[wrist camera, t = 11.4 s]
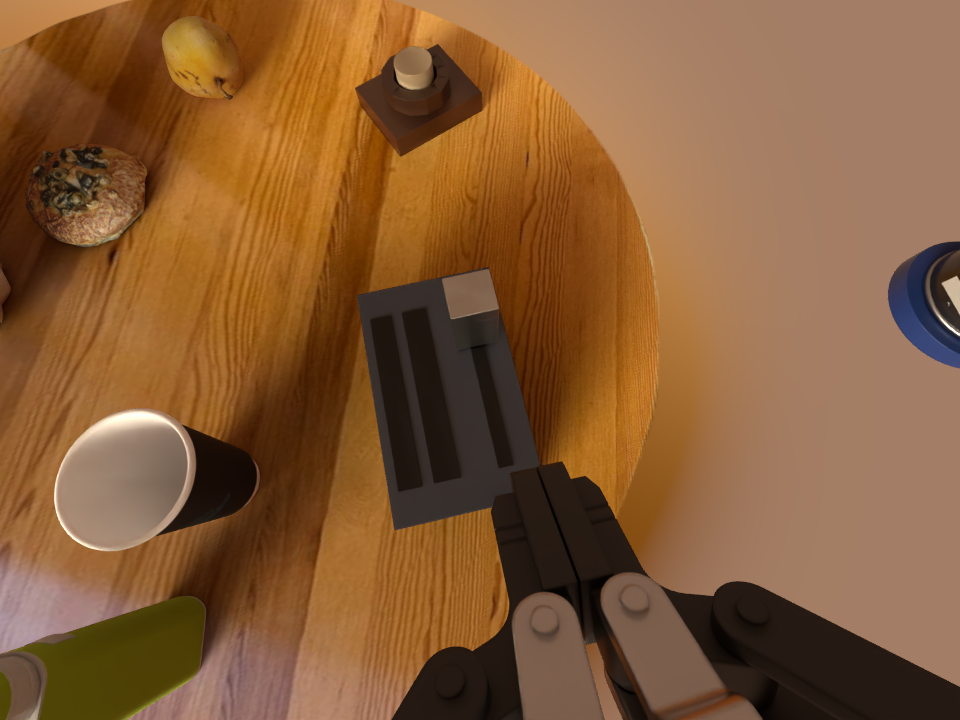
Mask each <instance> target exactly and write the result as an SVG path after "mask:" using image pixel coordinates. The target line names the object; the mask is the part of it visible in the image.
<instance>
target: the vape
mask: <svg viewBox="0 0 960 720" xmlns="http://www.w3.org/2000/svg"><path fill="white" fill-rule="evenodd" d="M205 622H206V607H205V605H204V604H203V602H202V601H201V600H199V599H197V598H195V597H192V596H179V597H176V598H172V599H169V600H166V601H163V602H160V603H157V604H154V605H151V606H148V607H145V608H141V609H138V610H135V611H132V612H129V613H126V614H123V615H120V616H117V617H114V618H110V619H107V620H104V621H101V622H98V623H95V624H92V625H89V626H86V627H83V628H79V629H76V630H73V631H70V632H67V633H64V634H53V635H49V636H46V637H44V638H41V639H39V640H37V641H35V642H33V643H30V644H27V645H25V646H24V647H21V648H17V649H14V650H11V651H8V652H5V653H2V654H0V720H127V719H128V718H130V717H132V716H133V715H135V714H136V713H138V712H140V711H141V710H143V709H145V708H146V707H148V706H149V705H151V704H153V703H154V702H156V701H158V700H159V699H161V698H162V697H164V696H166V695H167V694H169V693H171V692H172V691H174V690H175V689H177V688H179V687H180V686H182V685H184V684H185V683H187V682H188V681H190V680H191V679H193V678H194V677H195V676H196V674H197V673H198V671H199V669H200V667H201V660H202V650H203V641H204V631H205Z"/></svg>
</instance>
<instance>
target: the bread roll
mask: <svg viewBox="0 0 960 720" xmlns="http://www.w3.org/2000/svg"><path fill="white" fill-rule="evenodd" d="M146 176H147V168H146V166H145V165H144V164H143V163H142V162H141V161H140V160H139V157H137V156H135V155H131V154H126V153H124V152H122V151H121V150H119V149H115V148H112V147H110V146H108V145H96V144H92V143H88V144H76V145H73V146H65V147H62V148H60V150H56V151H55V152H53V153H51V152H49V151H44V152H42V157H41V158H40V160H39V161H37V162H36V164H35V167H34V168H33V170H32V171H31V174H30V178H29V186H28V188H27V192H26V194H25V195H26V208H27V210H28V212H29V214H30V217H31V218H32V220H33V221H34V222H35V223H36V224H37V225H38V226H39V227H40V228H41V229H42V230H43V231H44V232H46V233H47V234H49V235H50V236H52V237H53V238H55V239H57V240H59V241H62V242H65V243H69V244H74V245H76V246H81V247H89V246H94V245H95V246H98V245H99V244H103V243H104V242H107V241H111V240H114V239H117V238H118V237H119V236H120V234H121V233H123V231H124V230H125V229H126V228H127V227H128V226H129V225H131V224H132V223H133V221H134V220H135V219H137V217H138V216H140V215H141V214H142V213H143V212H144V208H143V207H144V206H145V202H144V201H145V178H146Z"/></svg>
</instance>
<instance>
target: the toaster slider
mask: <svg viewBox="0 0 960 720" xmlns="http://www.w3.org/2000/svg"><path fill="white" fill-rule="evenodd" d="M442 283H443V288H444V293H445V297H446V302H447V306H448V311H449V315H450V320H451V324H452V329H453V333H454V338H455V342H456V347H457V350H461V349H465V348H470V347H474V346H479V345H484V344H488V343H493V342H497V340H498V322H499V305H498V301H497V297H496V294H495V290H494V286H493V282H492V278H491V274H490V271H489V269H486V270H481V271H476V272H472V273H467V274H462V275H458V276H453V277H448V278H444V279H442Z"/></svg>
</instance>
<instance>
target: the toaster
mask: <svg viewBox="0 0 960 720" xmlns="http://www.w3.org/2000/svg"><path fill="white" fill-rule="evenodd" d="M486 269H489V267H486V268H482V269H477V270H472V271H468V272H463V273H458V274H454V275H449V276H444V277H440V278H435V279H430V280H426V281H421V282H416V283H411V284H407V285H402V286H397V287H393V288H388V289H383V290H379V291H374V292H369V293H365V294H360V295H357V298H358V305H359V311H360V317H361V324H362V330H363V336H364V342H365V349H366V355H367V361H368V367H369V374H370V380H371V386H372V392H373V399H374V405H375V411H376V417H377V424H378V430H379V436H380V443H381V449H382V455H383V461H384V468H385V474H386V480H387V486H388V493H389V499H390V505H391V511H392V518H393V524H394V530H399V529H403V528H407V527H411V526H415V525H420V524H424V523H428V522H432V521H436V520H440V519H445V518H449V517H453V516H457V515H461V514H466V513H470V512H474V511H478V510H482V509H486V508H491V507H493V503H494V499H495V496H498V495H502V494H507V493H511V492H512V487H511V481H510V474H509V473H511V472H516V471H520V470H525V469H530V468H534V467H535V469H536V467H538V466H541V465H540V461H539V457H538V453H537V449H536V445H535V442H534V438H533V434H532V430H531V426H530V422H529V419H528V415H527V411H526V407H525V403H524V399H523V396H522V392H521V388H520V384H519V380H518V376H517V373H516V369H515V365H514V361H513V357H512V353H511V350H510V346H509V342H508V338H507V334H506V330H505V327H504V323H503V319H502V315H501V311H500V307H499V322H498V340H497V342H493V343H488V344H484V345H479V346H474V347H470V348H465V349H461V350H457V347H456V342H455V338H454V333H453V329H452V324H451V320H450V315H449V311H448V306H447V302H446V297H445V293H444V288H443V283H442V279H444V278H448V277H453V276H458V275H462V274H467V273H472V272H476V271H481V270H486ZM489 271H490V269H489ZM490 274H491V273H490ZM491 278H492V277H491ZM492 282H493V281H492ZM493 286H494V284H493ZM494 290H495V288H494ZM495 294H496V292H495ZM496 297H497V296H496ZM497 301H498V300H497ZM498 305H499V304H498Z"/></svg>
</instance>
